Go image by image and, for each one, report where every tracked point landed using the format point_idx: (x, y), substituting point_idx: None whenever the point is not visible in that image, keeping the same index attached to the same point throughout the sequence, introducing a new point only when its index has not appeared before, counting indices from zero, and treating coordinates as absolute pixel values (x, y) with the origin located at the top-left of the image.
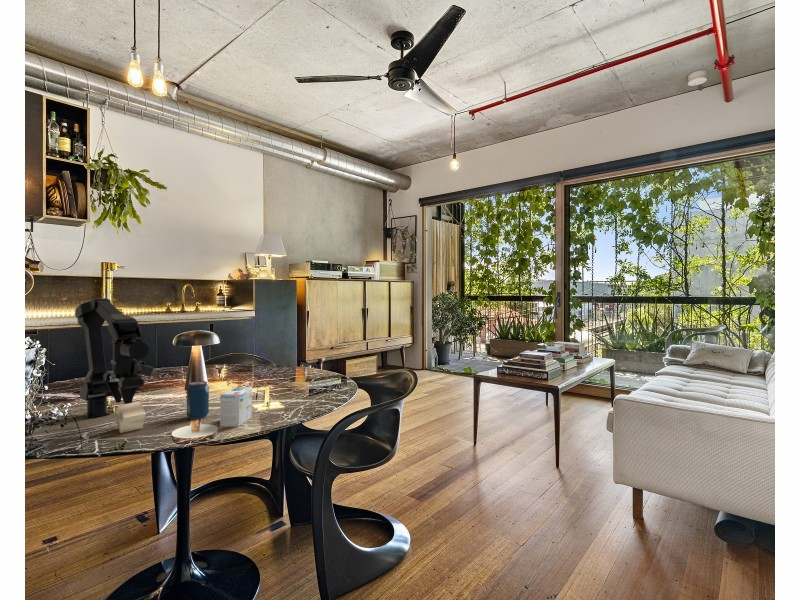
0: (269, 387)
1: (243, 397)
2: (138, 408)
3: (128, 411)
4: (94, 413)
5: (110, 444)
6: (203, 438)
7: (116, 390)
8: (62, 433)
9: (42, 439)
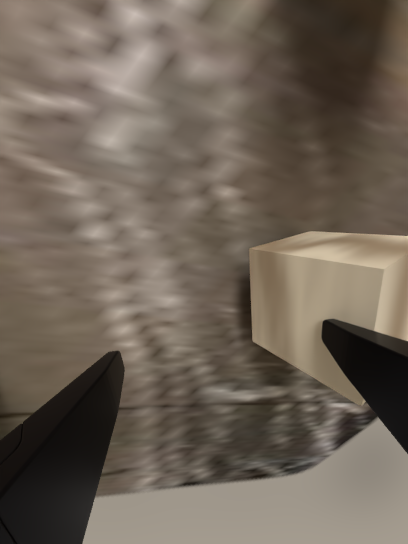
0: None
1: None
2: (406, 278)
3: (399, 333)
4: None
5: None
6: None
7: (69, 504)
8: (168, 442)
9: (198, 473)
